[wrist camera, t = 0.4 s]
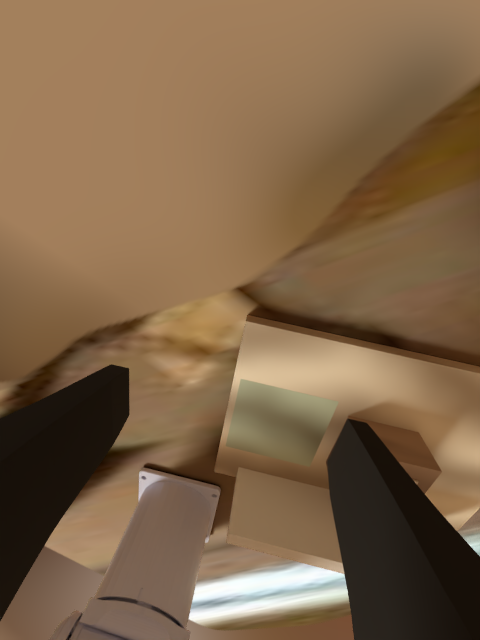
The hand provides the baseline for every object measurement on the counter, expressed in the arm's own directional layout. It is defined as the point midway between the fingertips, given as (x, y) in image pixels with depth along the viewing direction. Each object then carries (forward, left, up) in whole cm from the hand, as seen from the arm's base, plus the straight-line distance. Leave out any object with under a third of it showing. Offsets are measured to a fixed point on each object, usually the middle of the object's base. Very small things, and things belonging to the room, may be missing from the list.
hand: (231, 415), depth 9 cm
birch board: (-8, -10, -10) cm, 16 cm away
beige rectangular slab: (-15, -10, -9) cm, 20 cm away
